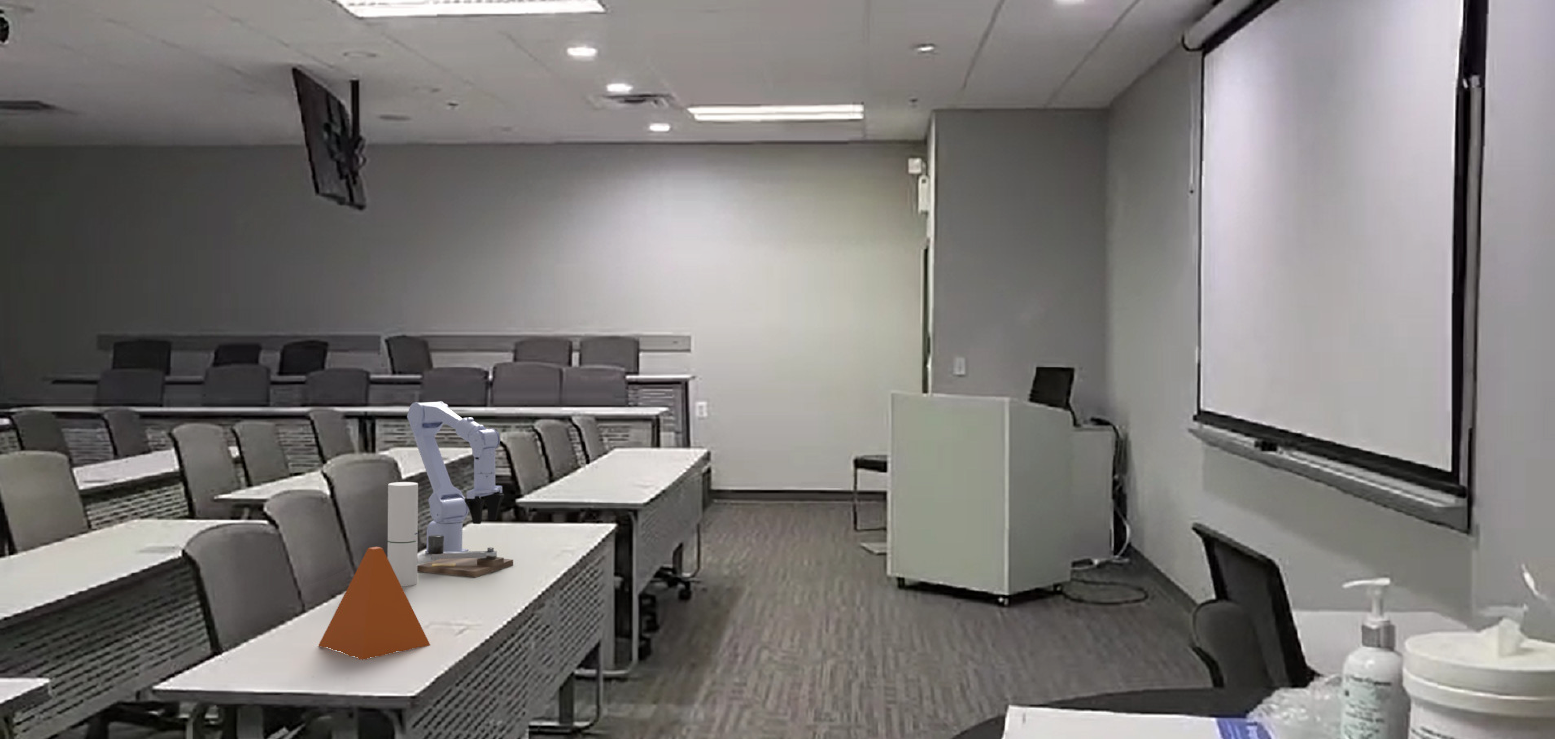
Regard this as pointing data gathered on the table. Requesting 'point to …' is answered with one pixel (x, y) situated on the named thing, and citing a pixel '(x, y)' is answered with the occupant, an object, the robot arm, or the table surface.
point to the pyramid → (374, 613)
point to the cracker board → (465, 566)
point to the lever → (438, 552)
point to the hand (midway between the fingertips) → (484, 521)
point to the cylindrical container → (403, 531)
